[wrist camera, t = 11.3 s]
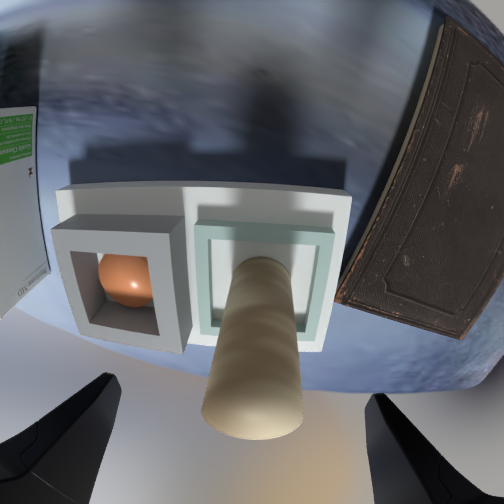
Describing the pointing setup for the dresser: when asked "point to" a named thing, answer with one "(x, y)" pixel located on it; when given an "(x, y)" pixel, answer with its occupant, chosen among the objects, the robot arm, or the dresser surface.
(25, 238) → the skincare box
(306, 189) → the panel
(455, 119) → the hardcover book
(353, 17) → the dresser surface
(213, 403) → the beige cylindrical rod
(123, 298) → the button
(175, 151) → the dresser surface
